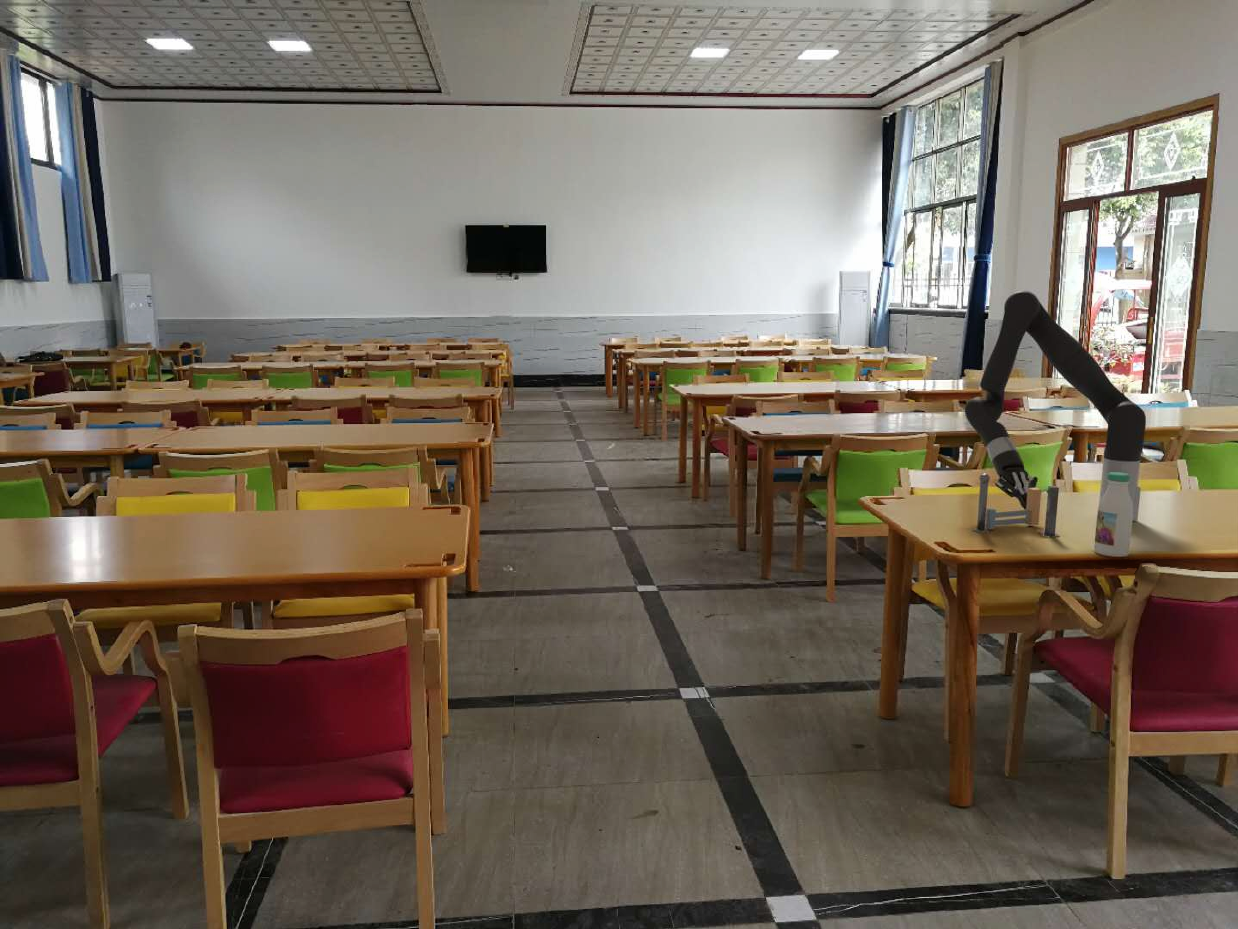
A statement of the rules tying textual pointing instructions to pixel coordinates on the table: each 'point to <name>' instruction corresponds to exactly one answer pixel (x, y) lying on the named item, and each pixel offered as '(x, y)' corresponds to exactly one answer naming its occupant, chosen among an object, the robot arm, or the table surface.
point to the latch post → (1051, 512)
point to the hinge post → (982, 503)
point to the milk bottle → (1114, 518)
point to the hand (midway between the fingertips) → (1029, 508)
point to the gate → (1018, 512)
